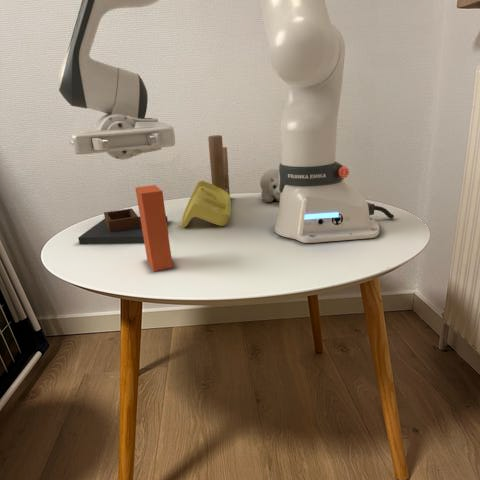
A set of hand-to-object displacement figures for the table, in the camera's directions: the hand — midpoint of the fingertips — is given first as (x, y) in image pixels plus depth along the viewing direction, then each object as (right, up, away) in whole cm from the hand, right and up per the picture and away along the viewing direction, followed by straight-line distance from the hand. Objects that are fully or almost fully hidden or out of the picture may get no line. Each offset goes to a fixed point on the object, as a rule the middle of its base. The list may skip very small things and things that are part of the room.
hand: (130, 142), depth 82 cm
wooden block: (+16, -1, +40) cm, 43 cm away
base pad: (-6, -13, +20) cm, 24 cm away
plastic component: (+13, -8, +27) cm, 31 cm away
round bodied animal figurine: (+31, -1, +37) cm, 48 cm away
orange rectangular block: (+6, -23, 0) cm, 24 cm away
